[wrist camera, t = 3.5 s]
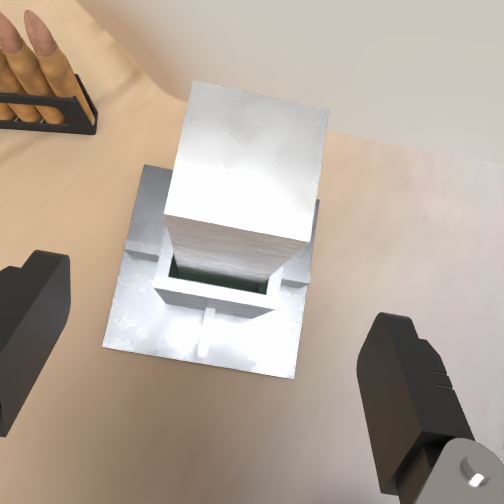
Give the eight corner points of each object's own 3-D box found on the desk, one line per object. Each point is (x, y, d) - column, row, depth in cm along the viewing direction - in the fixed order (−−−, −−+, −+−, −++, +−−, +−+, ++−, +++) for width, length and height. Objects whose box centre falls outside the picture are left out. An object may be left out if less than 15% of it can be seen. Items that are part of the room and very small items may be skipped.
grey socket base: (316, 203, 36) (368, 144, 25) (290, 377, 33) (336, 395, 22) (145, 169, 34) (123, 91, 24) (105, 346, 32) (59, 349, 21)
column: (251, 245, 33) (332, 107, 14) (241, 303, 32) (312, 245, 13) (193, 234, 33) (190, 76, 13) (181, 292, 32) (160, 215, 12)
